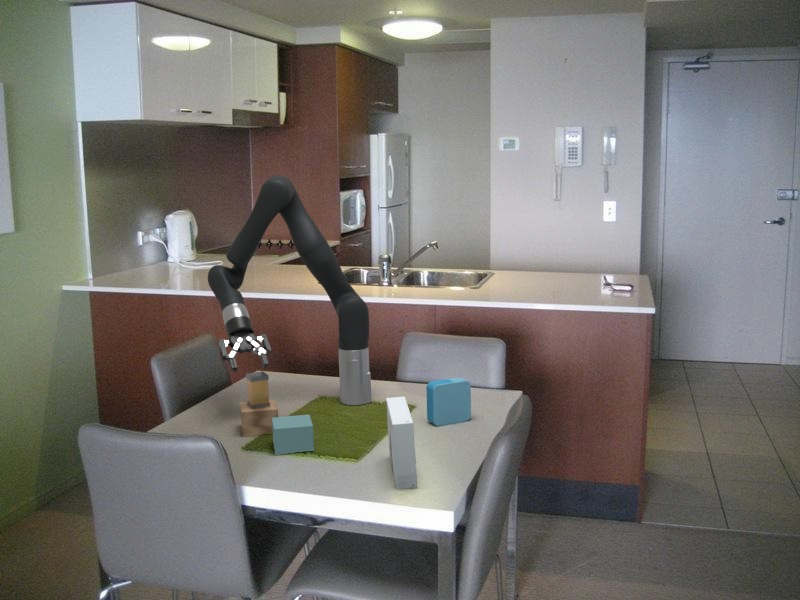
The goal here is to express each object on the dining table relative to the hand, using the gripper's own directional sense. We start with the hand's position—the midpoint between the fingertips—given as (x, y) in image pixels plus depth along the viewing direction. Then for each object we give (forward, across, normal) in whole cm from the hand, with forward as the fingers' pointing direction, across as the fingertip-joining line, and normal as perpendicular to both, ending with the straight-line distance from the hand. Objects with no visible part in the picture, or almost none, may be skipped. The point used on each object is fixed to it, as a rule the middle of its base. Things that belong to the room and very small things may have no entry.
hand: (250, 368), depth 242 cm
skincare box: (+50, +21, -27) cm, 61 cm away
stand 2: (+29, +4, -6) cm, 30 cm away
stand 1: (+16, 0, +7) cm, 17 cm away
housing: (+11, 0, +2) cm, 11 cm away
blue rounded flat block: (+30, +50, -7) cm, 58 cm away
